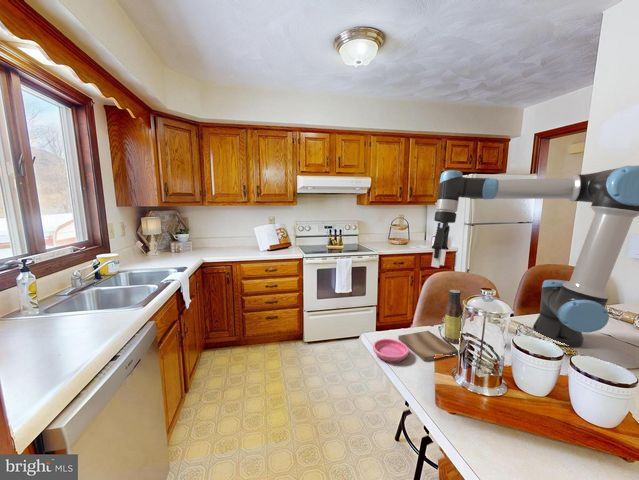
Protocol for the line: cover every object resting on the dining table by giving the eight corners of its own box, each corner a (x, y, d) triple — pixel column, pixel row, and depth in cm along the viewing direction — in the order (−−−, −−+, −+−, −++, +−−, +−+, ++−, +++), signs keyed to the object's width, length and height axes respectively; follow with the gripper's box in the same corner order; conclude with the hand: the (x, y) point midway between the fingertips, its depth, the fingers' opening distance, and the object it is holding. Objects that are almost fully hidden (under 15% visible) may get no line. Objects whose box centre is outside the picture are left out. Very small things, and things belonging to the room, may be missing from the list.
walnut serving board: (428, 334, 112) (428, 330, 111) (457, 354, 96) (458, 350, 96) (398, 339, 108) (398, 335, 108) (424, 361, 93) (424, 357, 92)
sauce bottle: (464, 344, 103) (467, 294, 100) (446, 343, 104) (448, 293, 101) (458, 336, 109) (461, 289, 106) (442, 335, 110) (444, 288, 108)
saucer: (398, 344, 104) (398, 336, 104) (415, 363, 92) (415, 354, 92) (367, 348, 102) (368, 340, 102) (380, 367, 90) (381, 358, 89)
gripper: (440, 214, 117) (432, 262, 118) (430, 207, 96) (421, 266, 97) (459, 215, 113) (451, 265, 114) (453, 208, 92) (444, 270, 93)
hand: (437, 266), depth 105 cm, fingers open, 13 cm apart
